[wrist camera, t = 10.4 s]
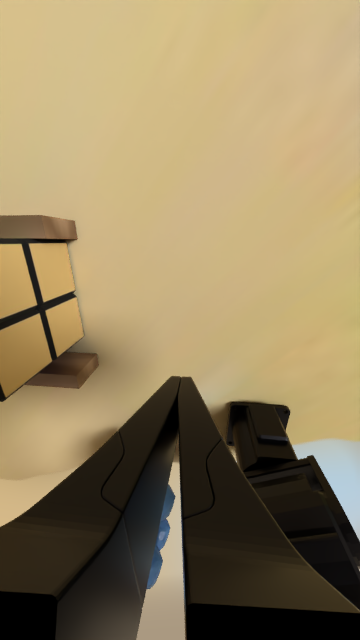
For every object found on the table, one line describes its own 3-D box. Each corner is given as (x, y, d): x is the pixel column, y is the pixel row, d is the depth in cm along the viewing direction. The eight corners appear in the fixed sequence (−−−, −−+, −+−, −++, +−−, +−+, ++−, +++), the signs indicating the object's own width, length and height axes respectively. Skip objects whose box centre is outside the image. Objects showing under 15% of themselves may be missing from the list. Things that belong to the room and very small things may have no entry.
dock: (101, 382, 24) (71, 425, 19) (6, 376, 25) (-50, 414, 20) (69, 187, 17) (3, 160, 11) (-64, 190, 18) (-182, 167, 12)
